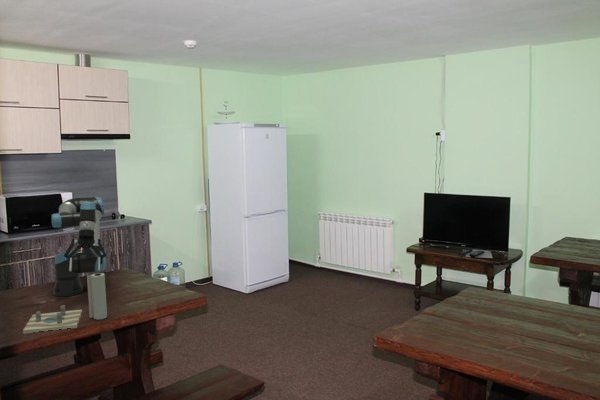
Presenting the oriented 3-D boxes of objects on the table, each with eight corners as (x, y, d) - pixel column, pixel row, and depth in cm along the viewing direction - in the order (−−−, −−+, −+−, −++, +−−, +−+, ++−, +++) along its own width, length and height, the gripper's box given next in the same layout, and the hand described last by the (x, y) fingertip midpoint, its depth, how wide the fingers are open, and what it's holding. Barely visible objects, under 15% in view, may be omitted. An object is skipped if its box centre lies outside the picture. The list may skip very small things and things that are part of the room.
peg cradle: (33, 317, 245) (32, 305, 244) (82, 312, 252) (81, 300, 251) (23, 333, 224) (21, 320, 224) (76, 327, 231) (76, 315, 230)
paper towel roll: (110, 316, 245) (107, 273, 242) (99, 320, 239) (96, 276, 237) (100, 314, 248) (97, 271, 246) (89, 318, 243) (86, 274, 241)
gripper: (60, 228, 259) (57, 269, 252) (112, 228, 267) (110, 268, 261) (61, 232, 266) (58, 272, 259) (112, 232, 274) (110, 271, 267)
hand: (84, 270), depth 260 cm, fingers open, 13 cm apart
